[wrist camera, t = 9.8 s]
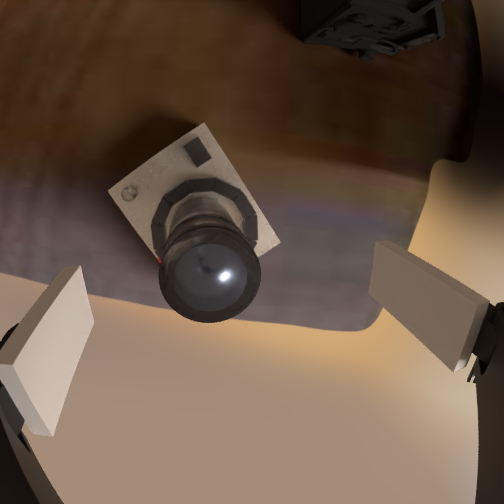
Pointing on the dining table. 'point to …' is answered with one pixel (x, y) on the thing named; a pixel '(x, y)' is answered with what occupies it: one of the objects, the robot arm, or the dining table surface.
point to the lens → (207, 264)
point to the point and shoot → (188, 191)
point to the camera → (371, 24)
